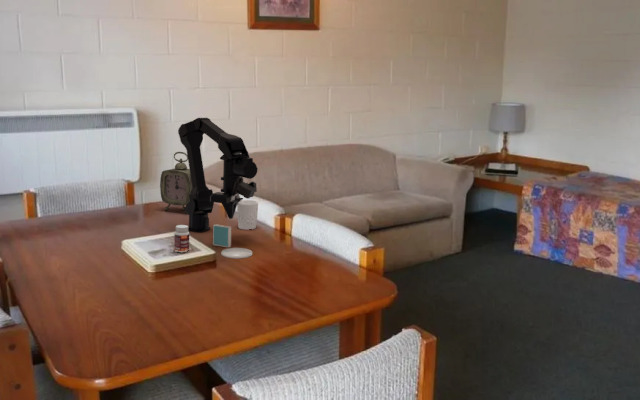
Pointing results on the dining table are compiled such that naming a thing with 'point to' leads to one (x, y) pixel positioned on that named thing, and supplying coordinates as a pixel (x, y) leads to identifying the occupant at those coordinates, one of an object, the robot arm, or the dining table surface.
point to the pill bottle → (181, 238)
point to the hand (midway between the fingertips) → (230, 218)
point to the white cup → (247, 214)
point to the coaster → (236, 253)
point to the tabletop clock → (176, 184)
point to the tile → (222, 235)
